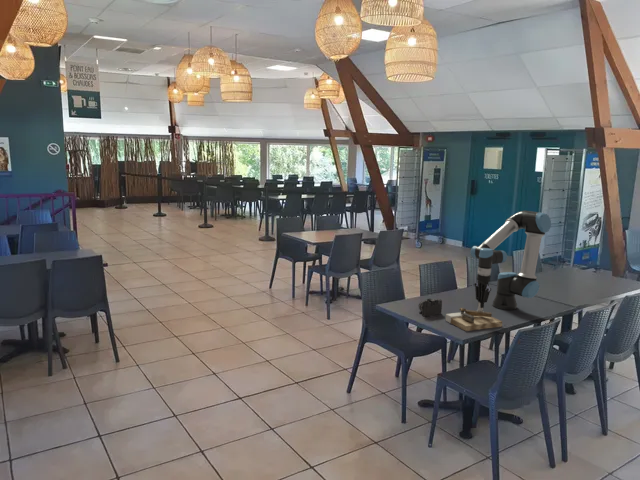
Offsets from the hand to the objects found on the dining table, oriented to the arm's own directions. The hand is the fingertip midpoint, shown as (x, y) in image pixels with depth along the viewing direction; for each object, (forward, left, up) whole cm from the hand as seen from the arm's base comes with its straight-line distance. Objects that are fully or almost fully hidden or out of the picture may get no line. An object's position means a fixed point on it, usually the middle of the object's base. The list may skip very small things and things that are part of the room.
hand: (480, 312), depth 304 cm
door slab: (+7, +5, -5) cm, 10 cm away
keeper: (+13, +5, -2) cm, 14 cm away
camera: (+22, -22, -6) cm, 31 cm away
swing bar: (+4, 0, -1) cm, 4 cm away
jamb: (+7, -4, -5) cm, 9 cm away
